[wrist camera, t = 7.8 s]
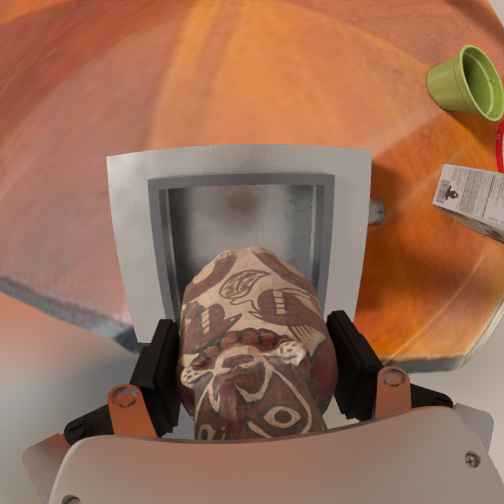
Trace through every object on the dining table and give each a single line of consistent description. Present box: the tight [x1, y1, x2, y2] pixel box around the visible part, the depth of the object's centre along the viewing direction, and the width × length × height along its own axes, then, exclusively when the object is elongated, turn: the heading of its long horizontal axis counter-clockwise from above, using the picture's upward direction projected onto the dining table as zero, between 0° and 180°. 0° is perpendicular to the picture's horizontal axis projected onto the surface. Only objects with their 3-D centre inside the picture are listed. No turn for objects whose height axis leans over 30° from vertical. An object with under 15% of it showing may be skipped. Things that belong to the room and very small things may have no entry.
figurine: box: [176, 246, 338, 440], centre depth 9 cm, size 7×7×12 cm
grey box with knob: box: [107, 144, 385, 343], centre depth 25 cm, size 25×18×9 cm
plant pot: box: [427, 45, 504, 121], centre depth 20 cm, size 9×9×9 cm
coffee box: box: [432, 164, 504, 244], centre depth 22 cm, size 9×6×16 cm
